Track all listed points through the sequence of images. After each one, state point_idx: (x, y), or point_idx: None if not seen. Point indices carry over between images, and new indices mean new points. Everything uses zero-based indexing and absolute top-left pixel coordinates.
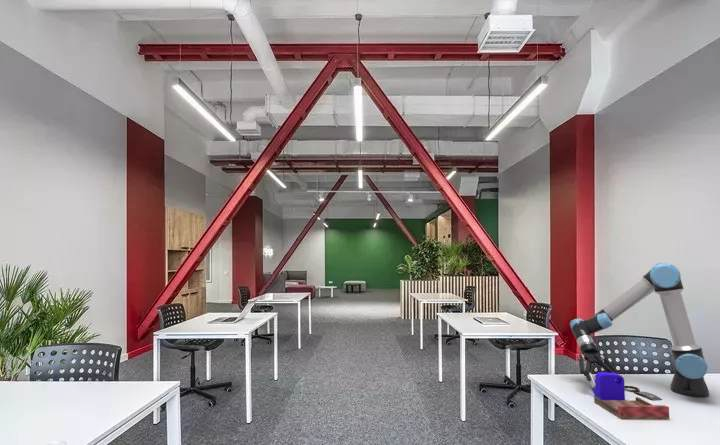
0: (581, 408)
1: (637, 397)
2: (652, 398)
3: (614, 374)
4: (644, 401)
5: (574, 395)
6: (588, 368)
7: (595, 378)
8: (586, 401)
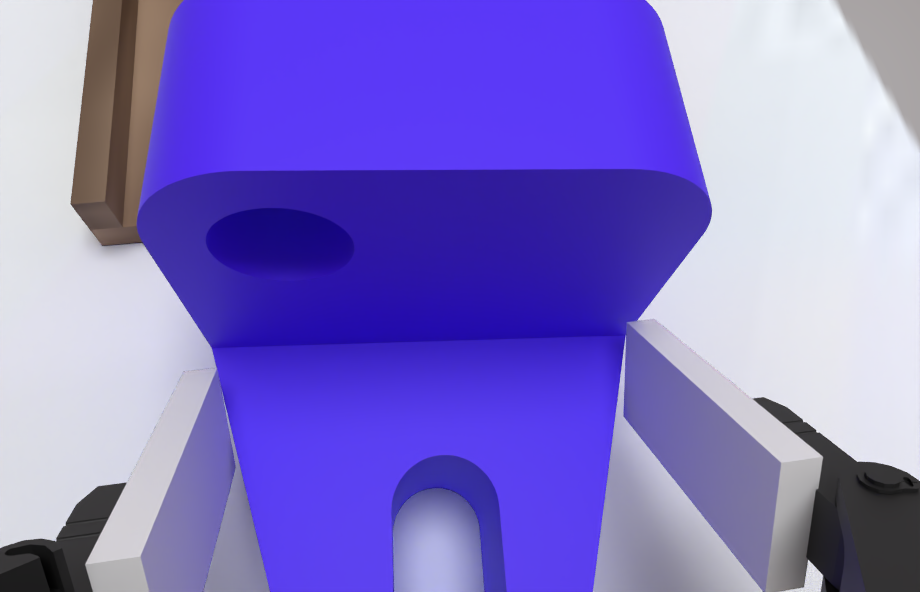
0: (819, 32)
1: (86, 189)
2: None
3: (328, 30)
4: (109, 61)
5: (861, 427)
6: (895, 567)
7: (687, 242)
8: (741, 217)
